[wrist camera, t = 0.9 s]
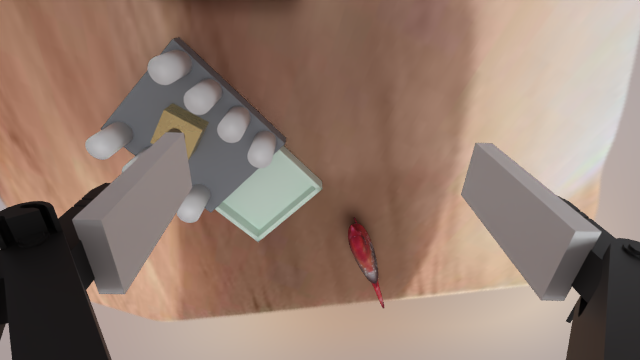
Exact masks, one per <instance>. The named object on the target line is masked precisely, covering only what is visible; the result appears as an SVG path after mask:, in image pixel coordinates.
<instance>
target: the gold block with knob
mask: <svg viewBox="0 0 640 360" xmlns="http://www.w3.org/2000/svg"><path fill="white" fill-rule="evenodd" d="M208 124H209V122H207V121H205V120H204V119H202V118H200V117H198V116H196V115H194V114H192V113H190V112H189V111H187V110H185V109H183V108H181V107H179V106H177V105H176V104H174V103H172V104H171V105H170V106H168V107H167V108H166V109H164V110H163V113H162V115H161V118H160V120H159V123H158V125H157V127H156V130H155V132H154V135H153V137H152V140H151V142H150V143H152V144H154V143H155V142H156V141H157V140H158V139H159V138H161V137H162V136H163V135H164V134H165V133H166V132H173V133H184V137H185V144H186V150H187V157H188V160H189V159H190V158H191V156H192V155H193V154H194V152H195V151H196V149H197V147H198V144H199V142H200V140H201V138H202V136H203V134H204V132H205V130H206V128H207V126H208Z"/></svg>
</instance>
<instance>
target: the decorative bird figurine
mask: <svg viewBox="0 0 640 360" xmlns="http://www.w3.org/2000/svg"><path fill="white" fill-rule="evenodd" d="M354 220H355V224H352V225H351V226H350V227H349V230H348V239H349V245H350V248H351V251H352V253H353V255H354V257H355V259H356V261H357V263H358V265H359V267H360V269H361V270H362V272H363V273H364V275H365V276H366V277H367V279H368V280H369V281H370V282H371V283H372V285H373V287H374V289H375V291H376V294H377V296H378V299H379V301H380V304H381V305H382V307H383V308H384V302H383V299H382V295H381V291H380V288H379V283H378V268H377V261H376V256H375V252H374V248H373V245H372V242H371V240H370V237H369V235H368V233H367V231H366V230H365V228H364V227H363V226H362V225H360V224H358V223H357V221H356V219H355V217H354Z"/></svg>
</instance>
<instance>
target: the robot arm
mask: <svg viewBox="0 0 640 360" xmlns="http://www.w3.org/2000/svg"><path fill="white" fill-rule="evenodd" d="M191 188H192V182H191V176H190V169H189V163H188V157H187V150H186V144H185V137H184V133H173V132H166V133H165V134H164V135H163V136H162V137H161V138H159V139H158V140H157V141H156V142H155V143H154V144H153V145H152V146H151V147H150V148H149V149H148V150H146V151H145V152H144V153H143V154H142V155H141V156H140V157H139V158H138V159H137V160H136V161H135V162H133V163H132V164H131V165H130V166H129V167H128V168H127V169H126V170H125V171H124V172H123V173H122V174H121V175H119V176H118V177H117V178H116V179H115V180H114V181H113V182H112V183H104V184H102V185H100V186H98V187H96V188H94V189H92V190H91V191H90V192H88V193H87V194H86V195H85V196H84V197H83V198H82V200H79V201H78V202H77V203H76V204H75V205H74V207H71V208H70V209H69V210H68V211H67V212H66V213H64V214H63V215H62V216H61V217H60V218H59V219H58V218H57V215H56V213H55V210H54V207H53V206H52V205H51V204H50V203H48V202H43V201H33V202H26V203H21V204H17V205H14V206H11V207H8V208H6V209H4V210H2V211H0V249H1V250H0V339H1V336H2V333H3V330H4V327H5V324H6V323H9V333H10V342H11V351H12V360H111V357H110V354H109V351H108V349H107V346H106V343H105V341H104V338H103V335H102V332H101V329H100V327H99V324H98V322H97V318H96V316H95V313H94V310H93V307H92V305H91V302H90V299H89V297H88V294H87V291H86V289H87V288H88V287H89V285H90V284H91V283H92V282H93V280H94V281H95V284H96V286H97V289H98V292H99V294H125V293H126V292H127V290H128V288H129V287H130V285H131V284H132V282H133V281H134V279H135V277H136V276H137V274H138V273H139V271H140V269H141V268H142V266H143V265H144V263H145V261H146V260H147V258H148V257H149V255H150V254H151V252H152V250H153V249H154V247H155V246H156V244H157V242H158V241H159V239H160V238H161V236H162V234H163V233H164V231H165V230H166V228H167V227H168V225H169V223H170V222H171V220H172V219H173V217H174V215H175V214H176V212H177V211H178V209H179V207H180V206H181V204H182V203H183V201H184V200H185V198H186V196H187V195H188V193H189V192H190V190H191ZM461 195H462V197H463V198H464V199H465V201H466V202H467V203H468V205H469V206H470V207H471V209H472V210H473V211H474V212H475V214H476V215H477V216H478V218H479V219H480V220H481V222H482V223H483V224H484V226H485V227H486V228H487V230H488V231H489V232H490V234H491V235H492V236H493V238H494V239H495V240H496V242H497V243H498V244H499V245H500V247H501V248H502V249H503V251H504V252H505V253H506V255H507V256H508V257H509V259H510V260H511V261H512V263H513V264H514V265H515V267H516V268H517V269H518V271H519V272H520V273H521V275H522V276H523V277H524V278H525V280H526V281H527V282H528V284H529V285H530V286H531V288H532V289H533V290H534V292H535V293H536V294H537V296H538V297H539V298H540V300H552V301H553V300H555V301H564V300H565V298H566V296H567V294H568V292H569V291H570V289H571V287H573V288H574V289H575V290H576V291H577V292H578V293H579V294H580V295H581V296H580V298H579V299H578V301H577V303H576V304H575V306H574V308H573V310H572V311H571V313H570V315H569V317H568V319H567V320H566V321H567V322H569V323H570V322H571V321H572V320H573V322H572V327H571V334H570V339H569V345H568V351H567V358H566V360H640V242H637V241H634V240H630V239H623V238H618V239H616V238H614V237H613V236H612V235H611V234H609V233H608V232H607V231H606V230H604V229H603V228H602V227H600V226H599V225H598V224H597V223H596V222H594V221H593V220H592V219H589V218H588V216H587V215H585V214H584V213H583V212H580V210H579V209H578V208H577V207H575V206H574V205H573V204H572V203H570V202H569V201H567V200H565V199H563V198H561V197H559V196H557V195H555V194H554V193H553V192H552V191H550V190H549V189H548V188H547V187H545V186H544V185H543V184H542V183H541V182H539V181H538V180H537V179H536V178H534V177H533V176H532V175H531V174H529V173H528V172H527V171H526V170H524V169H523V168H522V167H521V166H519V165H518V164H517V163H516V162H515V161H513V160H512V159H511V158H510V157H508V156H507V155H506V154H505V153H503V152H502V151H501V150H500V149H498V148H497V147H496V146H495V145H493V144H492V143H475V147H474V150H473V154H472V157H471V161H470V164H469V168H468V171H467V175H466V178H465V182H464V186H463V189H462V193H461Z"/></svg>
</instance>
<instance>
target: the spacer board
mask: <svg viewBox="0 0 640 360" xmlns="http://www.w3.org/2000/svg"><path fill="white" fill-rule="evenodd" d="M172 103H174V104H176V105H177V106H179V107H181V108H183V109H185V110H187V111H189V112H190V113H192V114H194V115H196V116H198V117H200V118H202V119H204V120H205V121H207V122H209V124H208V126H207V128H206V130H205V132H204V134H203V136H202V138H201V140H200V142H199V144H198V147H197V149H196V151H195V152H194V154H193V155H192V156H191V158H190V159H189V160H188V163H189V169H190V176H191V182H192V188H191V190H190V192H189V193H188V195H187V196H186V198H185V200H184V201H183V203H182V204H181V206H180V207H179V209H178V211H177V215H178V217H179V218H180V219H181V220H182V221H184V222H188V223H192V222H196V221H197V220H198V219H199V217H200V215H201V213H202V211H203V210H204V208H205V209H207V210H208V211H209V212H212V211H213V210H214V209H215V208H216V207H218V206H219V205H220V204H221V203H222V202H223V201H224V200H225V199H226V198H227V197H228V196H229V195H230V194H232V193H233V192H234V191H235V190H236V189H237V188H238V187H239V186H240V185H241V184H242V183H243V182H244V181H246V180H247V179H248V178H249V177H250V176H251V175H252V174H253V173H254V172H255V171H256V170H257V169H259V168H265V167H267V166H269V165H270V163H271V162H272V158H273V155H274V154H275V153H276V152H277V151H278V150H279V149H280V148H281V147H282V146H283V145H284V144H285V141H286V138H285V137H284V136H283V135H282V134H281V133H280V132H279V131H278V130H277V129H276V128H275V127H274V126H273V125H272V124H271V123H269V122H268V121H267V120H266V119H265V118H264V117H263V116H262V115H261V114H260V113H259V112H258V111H257V110H256V109H255V108H254V107H252V106H251V105H250V104H249V103H248V102H247V101H246V100H245V99H244V98H243V97H242V96H241V95H240V94H239V93H238V92H237V91H236V90H234V89H233V88H232V87H231V86H230V85H229V84H228V83H227V82H226V81H225V80H224V79H223V78H222V77H221V76H220V75H219V74H218V73H216V72H215V71H214V70H213V69H212V68H211V67H210V66H209V65H208V64H207V63H206V62H205V61H204V60H203V59H202V58H201V57H200V56H198V55H197V54H196V53H195V52H194V51H193V50H192V49H191V48H190V47H189V46H188V45H187V44H186V43H185V42H184V41H183V40H182V39H180V38H179V37H178V38H174V39H172V40H171V42H170V43H169V44H168V45H167V47H166V48H165V49H164V50H163V52H162V53H161V54H160V55H158V56H156V57H153V58H152V59H151V60H150V61H149V63H148V70H147V72H146V73H145V74H144V75H143V77H142V78H141V79H140V80H139V82H138V83H137V84H136V85H135V87H134V88H133V89H132V90H131V92H130V93H129V94H128V95H127V97H126V98H125V99H124V100H123V102H122V103H121V104H120V105H119V107H118V108H117V109H116V110H115V112H114V113H113V114H112V115H111V117H110V118H109V119H108V120H107V122H106V123H105V124H104V125H103V127H102V128H101V131H99V132H98V133H96V134H94V135H93V136H91V137H90V138H88V139H87V141H86V149H87V151H88V152H89V154H90V155H92V156H93V157H95V158H97V159H101V160H104V159H108V158H109V157H111V156H112V155H113V154H115V153H116V152H117V151H118V150H120V149H121V148H122V147H125V148H126V149H127V150H129V151H130V152H131V153H132V154H134V155H135V157H134V158H133V159H132V160H130V161H129V162H128V163H127V164H126V165H125V166H124V167H123V169H122V173H123V172H124V171H125V170H126V169H127V168H128V167H129V166H130V165H131V164H132V163H133V162H135V161H136V160H137V159H138V158H139V157H140V156H141V155H142V154H143V153H144V152H145V151H146V150H148V149H149V148H150V147H151V146H152V145H153V144H152V143H150V142H151V140H152V137H153V135H154V132H155V130H156V127H157V125H158V123H159V120H160V118H161V115H162V113H163V110H164V109H166V108H167V107H168V106H170V105H171V104H172Z"/></svg>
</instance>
